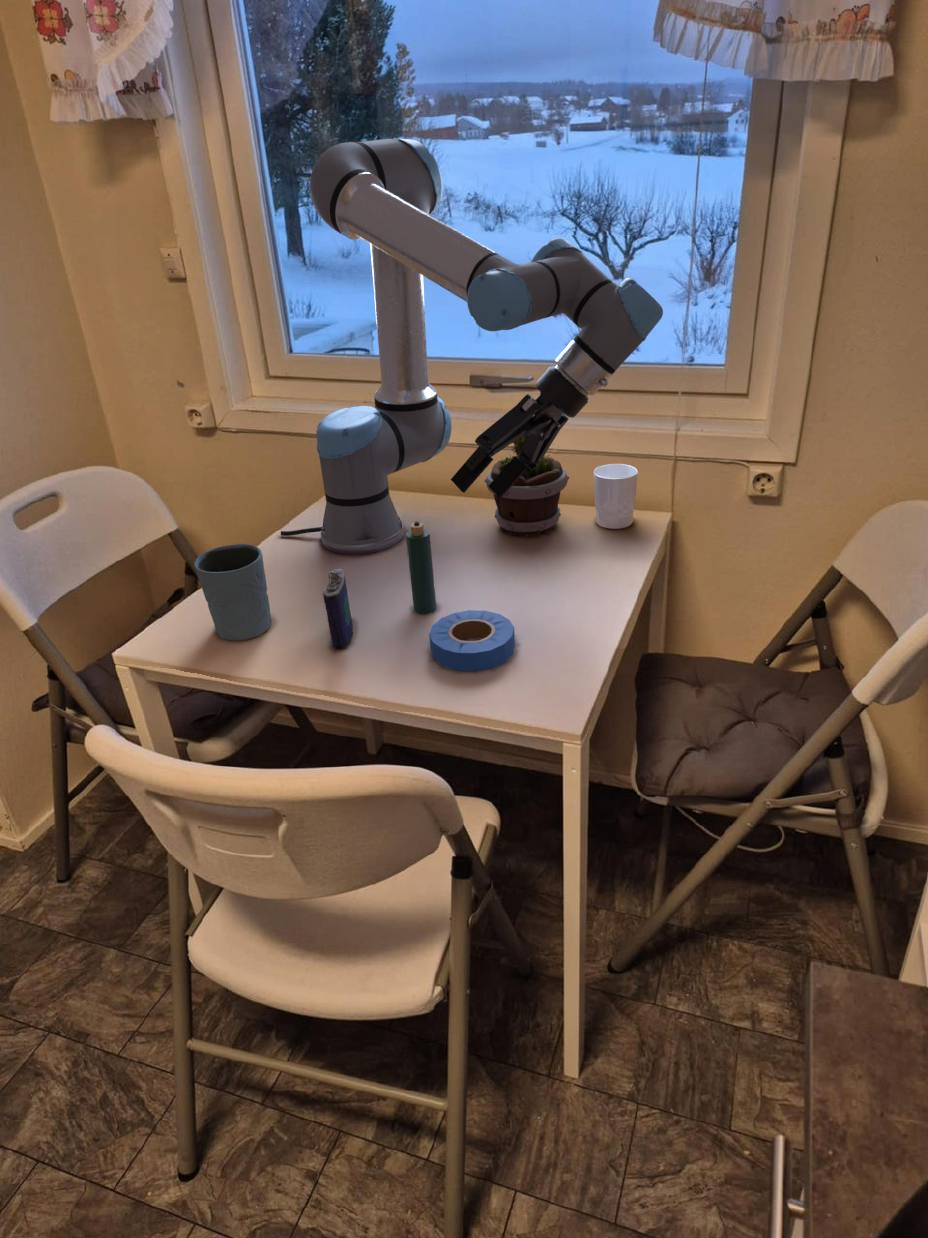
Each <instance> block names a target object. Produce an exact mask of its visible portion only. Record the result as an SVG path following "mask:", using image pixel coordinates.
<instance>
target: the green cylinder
mask: <svg viewBox="0 0 928 1238" xmlns="http://www.w3.org/2000/svg"><path fill="white" fill-rule="evenodd" d="M424 525H425V524H424V523H423V522H420V521H415V522H412V523H411V524H410V525H409V528H410V529H409V530H408V531H407V532H406V533H405V540H406V548H407V549H406V550H407V557H408V570H409V577H410V587H411V596H412V606H413V611H414V612H415V613H416V614H418V615H428V614H429V615H430V614H431V613H433V612H435V611H436V610H437V600H436V599H437V598H436V590H435V589H436V587H435V576H434V565H433V554H432V543H431V542H432V541H431V532H430V530H428V529H425V526H424Z"/></svg>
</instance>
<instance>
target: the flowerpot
mask: <svg viewBox="0 0 928 1238" xmlns="http://www.w3.org/2000/svg"><path fill="white" fill-rule="evenodd" d="M526 437H527V436H526V435H523V436H522V437H520V438H519V439H517V440H516V441H514V442H513V443H511V444H510V446H512V447H513V448H512V451H513V454H514V455H512V454H510V452H509V453H508V452H507V454H508V455H509V457H508V456H507V454H506V455H504V457H505V458H503V457H501V459H500V460H498V461H497V462H495V463H494V464H493V466H492V468H491V469H490V470H489V471H488V472H487V474H486V478H485V479H484V483H485V484H486V488H487V489H488V491H489V492H490V493H491V494H492V496H493V498H494V502H495V506H496V509H495V511H494V519H496V522H497V524H498V525H499V526H500V527H501V529H502V530H503V531H505V532H506V533H507V534H510V535H513V536H518V537H527V536H529V537H534V536H537V535H539V534H540V533H541V532H542V533H548V532H550V531H551V530H552V529H554V527H555V525H556V524H557V523H558V522H559V518H560V517H561V516H562V513H561V508H560V507H559V506H558V505H559V501H560V497H561V492H562V491H563V490H564V489H565V488H566V487H567V485H568V481H569V480H570V477H569V476H568V473H567V470H566V469H565V468H563V467H562V463H561V462H560V461H559V460H555V458H553V457H551V455H545V456H544V457H543V458H542V460H541V461H540V463H539V464H538V465H537V467H536V468H535V469H534V470H531V469H530V468H529V467H528V466H527V467H528V468H527V470H526V471H525V472H524V473H523V474H522V475H521V476H520V477H519V479H518V480H517V481H516V482H515V483H514V484H513V485H512V486H511V487H510V489H509V490H508V491H507V492H506V493H505V494H504V495H503V496H502V497H501V498H499V497H498V496H497V495H496V494H495V493H494V492H493V491H492V490H491V489H490V488H489V487H488V486H489V485H490V483H491V482H492V481H493V480H494V479H495V478H496V477H497V476H498V474H499V473H500V472H501V471H502V470H503V469H504V468H505V467H506V465H507V464H508V463H509V462H510V461H511V460H512V459H513V457H514V456H517V457H518V458H519V454H520V451H521V449H522V447H523V444H524V442H525V439H526ZM537 456H538V455H537ZM519 459H520V458H519Z"/></svg>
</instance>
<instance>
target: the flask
mask: <svg viewBox="0 0 928 1238" xmlns="http://www.w3.org/2000/svg"><path fill="white" fill-rule="evenodd" d="M327 574H328V583H327V587H326V588H325V589H324V591H323V594H322V596H323V601H324V606H325V612H326V617H327V623H328V624H327V625H328V629H329V633H330V634H329V635H330V639H331V645H332V646H331V647H332V648H333V649H334V650H335V651H336V650H344V649H346V648H348V646H349V645H350V644H351V641H352V638H353V636H354V624H353V617H352V612H351V606H350V600H349V592H348V587H347V586H348V585H347V579H346V573H345V571H344V570H343V569H341V568H336V569H332V570H329V571H327Z"/></svg>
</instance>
